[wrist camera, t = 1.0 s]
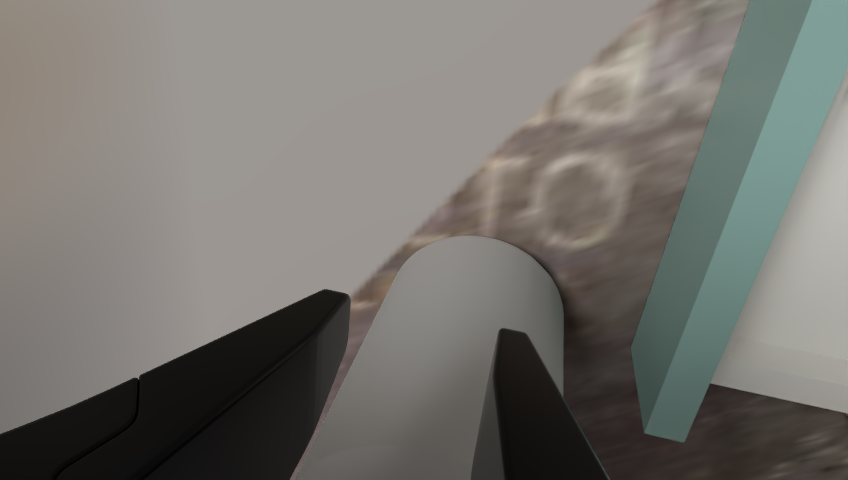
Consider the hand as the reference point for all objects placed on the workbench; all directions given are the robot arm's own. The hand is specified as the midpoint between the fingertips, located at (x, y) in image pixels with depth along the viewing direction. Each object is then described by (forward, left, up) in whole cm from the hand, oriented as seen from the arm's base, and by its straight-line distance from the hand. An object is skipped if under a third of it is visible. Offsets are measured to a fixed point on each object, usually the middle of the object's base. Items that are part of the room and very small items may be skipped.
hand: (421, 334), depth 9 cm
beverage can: (-7, 0, -12) cm, 14 cm away
